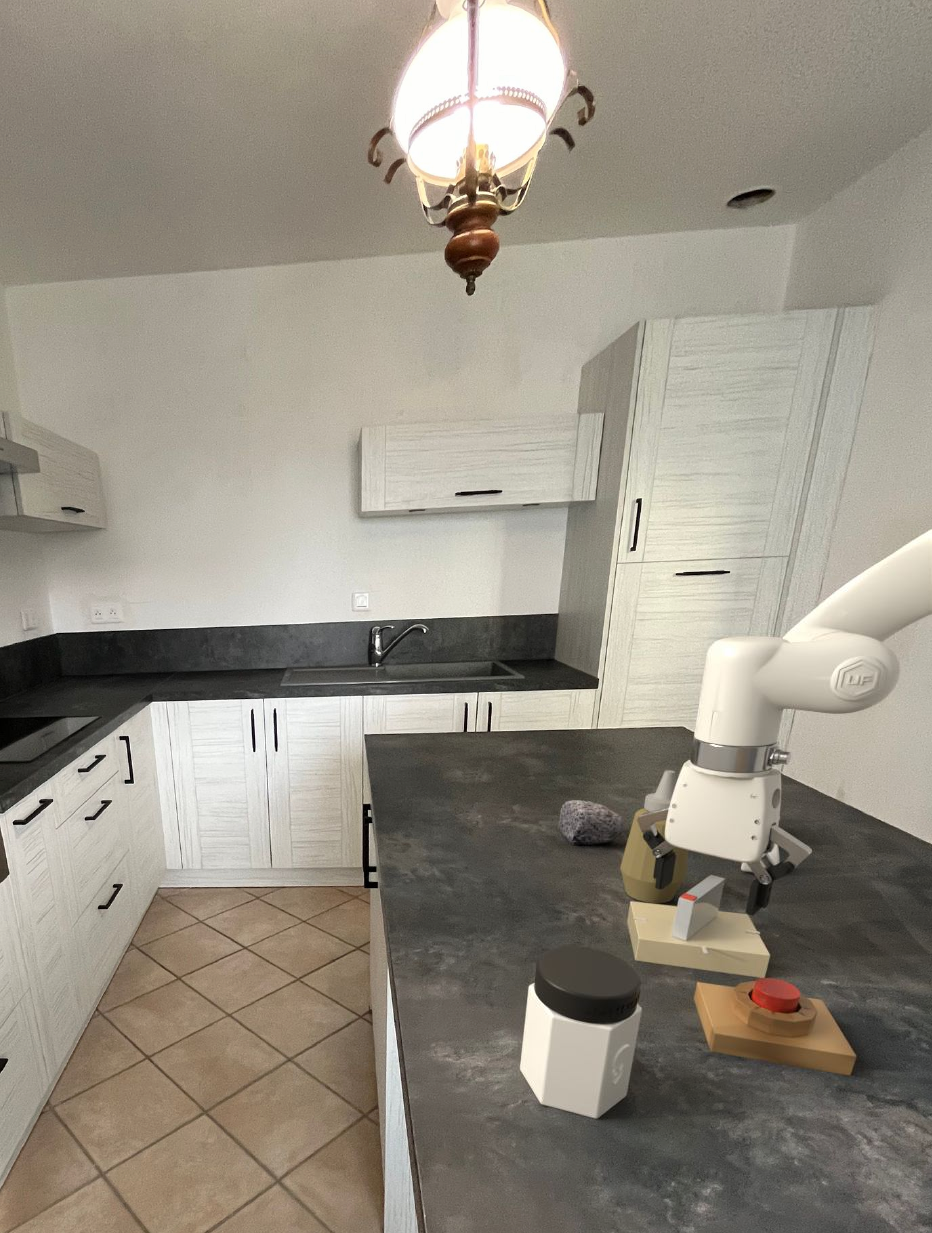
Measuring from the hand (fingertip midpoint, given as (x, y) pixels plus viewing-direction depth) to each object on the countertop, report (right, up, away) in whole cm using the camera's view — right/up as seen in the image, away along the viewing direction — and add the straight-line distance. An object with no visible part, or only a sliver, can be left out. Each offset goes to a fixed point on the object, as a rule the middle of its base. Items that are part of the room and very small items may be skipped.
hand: (706, 897), depth 80 cm
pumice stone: (+2, +6, +35) cm, 35 cm away
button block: (-2, -12, -13) cm, 18 cm away
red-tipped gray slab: (0, -3, +1) cm, 4 cm away
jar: (-24, -15, -18) cm, 33 cm away
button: (-2, -9, -14) cm, 17 cm away
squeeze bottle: (+2, -1, +16) cm, 16 cm away
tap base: (0, -6, +3) cm, 7 cm away
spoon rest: (+25, +5, +30) cm, 40 cm away
